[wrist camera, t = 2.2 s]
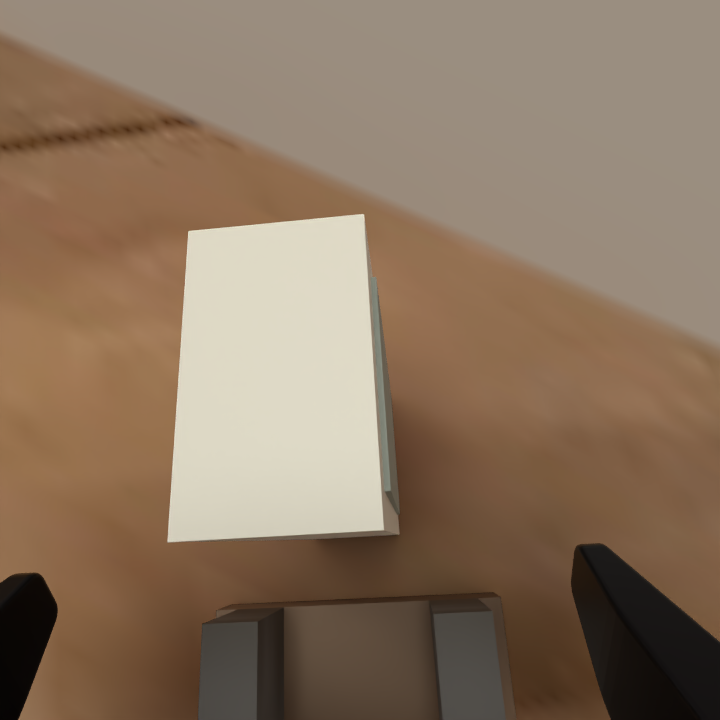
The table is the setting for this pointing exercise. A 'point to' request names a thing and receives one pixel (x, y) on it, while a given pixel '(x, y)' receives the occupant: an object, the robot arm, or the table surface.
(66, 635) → the table surface
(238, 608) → the display ledge
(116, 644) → the table surface
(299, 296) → the cream slab
